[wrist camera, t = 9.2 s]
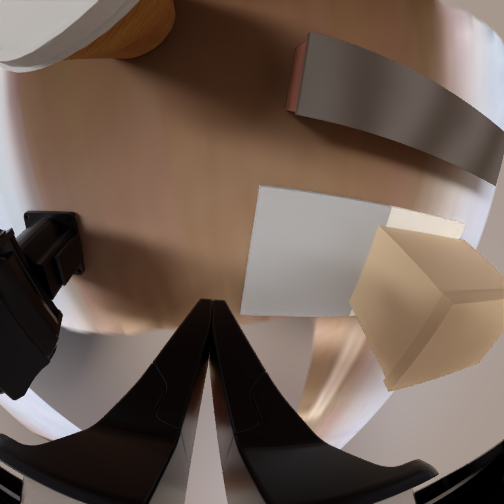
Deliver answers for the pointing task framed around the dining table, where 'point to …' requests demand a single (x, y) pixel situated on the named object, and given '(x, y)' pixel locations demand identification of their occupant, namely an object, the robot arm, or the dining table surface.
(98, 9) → the disposable coffee cup
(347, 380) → the dining table surface
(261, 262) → the board
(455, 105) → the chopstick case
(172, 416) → the robot arm
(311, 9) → the dining table surface
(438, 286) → the kraft carton
